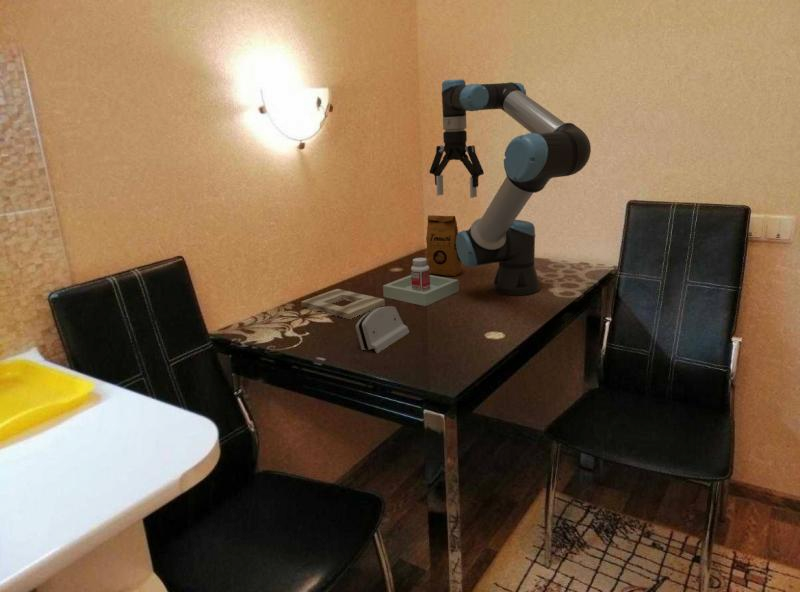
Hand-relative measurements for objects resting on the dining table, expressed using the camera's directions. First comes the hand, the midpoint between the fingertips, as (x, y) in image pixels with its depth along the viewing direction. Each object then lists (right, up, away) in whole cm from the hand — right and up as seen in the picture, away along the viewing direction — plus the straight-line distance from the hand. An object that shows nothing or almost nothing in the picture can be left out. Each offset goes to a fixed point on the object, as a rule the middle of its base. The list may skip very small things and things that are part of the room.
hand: (456, 196), depth 198 cm
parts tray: (-12, -33, +1) cm, 35 cm away
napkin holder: (-24, -46, -36) cm, 63 cm away
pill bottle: (-12, -32, 0) cm, 34 cm away
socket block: (-37, -37, -7) cm, 53 cm away
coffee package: (-2, -25, +23) cm, 34 cm away
